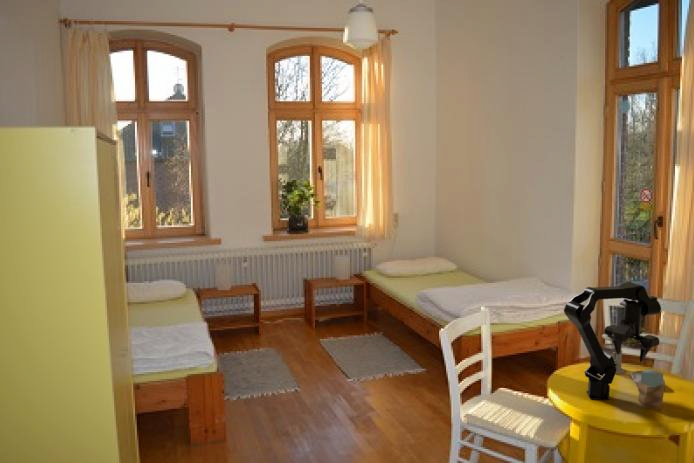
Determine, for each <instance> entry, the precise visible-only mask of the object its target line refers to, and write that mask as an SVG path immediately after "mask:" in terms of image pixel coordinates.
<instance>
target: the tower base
mask: <svg viewBox="0 0 694 463" xmlns="http://www.w3.org/2000/svg"><path fill="white" fill-rule="evenodd" d="M663 399H664V397H663V398H646V397H645V396H643V395H642V394H641V393H640V392H639V391H638V399H637V400H638V403H639V404H640V405H641V406H642V408H644V409H657V410H658V409H659V410H662V409H663Z"/></svg>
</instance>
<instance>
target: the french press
mask: <svg viewBox="0 0 694 463" xmlns="http://www.w3.org/2000/svg"><path fill="white" fill-rule="evenodd" d="M611 313H612V314H613V317H615V314H618V311H617V310H616V309H612V310H611ZM612 321H613V322H612V323H613V324H612V325H615V320H612ZM601 337H602V339H604V340H605V341H610V342H611V343H603V344H602V347H601V348H602V350H603V352H604V353H606V354H608V355H610V356H612V357H613V359H614V362H615V364H617V365H616V373H615V375H618V374H619V375H621V374H622V373H624V371H625V370H624V368H622V361H623V360H622V358H623V350H622V348H623V347H622V346H621V351H620V354H617V353H616V349H615V346H614V343H613V341H612V339H610V338H609V337H608V336H607V335H606V334H604V333H603V334H602V335H601Z"/></svg>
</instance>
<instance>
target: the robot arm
mask: <svg viewBox="0 0 694 463" xmlns="http://www.w3.org/2000/svg"><path fill="white" fill-rule="evenodd" d="M610 299H611V300H613V299H623V300H622V301H620V303H619V305H620V306H622V307H624V309H623V318H621V321H620V324H619V325H616V324H614V325H613V324H610V325H607V326H605V328H604V332H603V334H606V335H607V336H608V337H609V338H610V339H612V341H613V344H614V346H615V349H616V353H615V354H616V355H617V354H620V351H621V350H622V348H621V347H622V343H623V342H626V341H628V339H629V340H636V341H639V343H640V344H639V348H640V353H639V362H640V363H643V361H644V360H645V358H646V356H647V355H648V353H649V352H650V350H651V349H652V348H654V347H657V346H659V345H660V338H659V337H658V336H654V335H652V334H647V335H642V334H643V330H641V324H643V323H644V320H643V319H642V317H647V316H654V315H659V314H660V313H661V312H662V306H661V304H660V302H659V301H658V297H657V296H654V295H652V296H649V295H648V293H647V291H646V288H645V286H644V285H641V284H639V283H634V282H632V281H628V282H623V283H620V284H619V285H617V286H616V285H615V286H600V287H598V286H596V287H591V286H588V287H585V289H583V290H582V291H581V292H579V293H578V294H576V295H575V296H573V297H572V298H571V299H570V300H569V301H568V302H567V303H566V304H565V306H564V308H563V312H564V314H565V316H566V318H567V319H568V320H569V321H570V322H571V323H572V324H573V325H575V327H576V329H577V331H578V333H579V335H580V337H581V339H582V341H583V343H584V345H585V347H586V350H587V351H588V354H589V356H590V358H589V366H588V367H587V368H586V370H585V371H584V376H585V377H586V378H588V384H587V390H586V394H587V395H588V398H589V399H590V400H601V401H602V400H604V401H610V398H609V397H610V390H611V388H610V387H611V386H610V385H611V384H613V382H614V378H615V376H616V374H615V373H616V365H617V364H616V362H614V359H613V357H612V356H610V355H608V354H606V353H604V352H603V350H602V348H603V347H602V345H601V344H600V341H599V339H598V337H597V335H596V333H595V331H594V329H593V328H594V327H593V326H592V324H591V320H592V315H591V314H592V313H593V312H594V311H595V308H596V305H597V302H598V301H600V300H610ZM587 300H588V302H587V303H586V304H585V305H584V304H582V303H583V302H586V301H587ZM612 341H611V342H612Z"/></svg>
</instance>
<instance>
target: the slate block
mask: <svg viewBox="0 0 694 463" xmlns="http://www.w3.org/2000/svg"><path fill="white" fill-rule="evenodd" d="M642 371H643V372H642V375H641V383H643V384H645V385H648V386H651V387H654V388H655V387H657V386H660V385H662V384H663V379H664V373H663V372H659V371H656V370H654V369H652V368H649V369H646V370H642Z"/></svg>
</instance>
